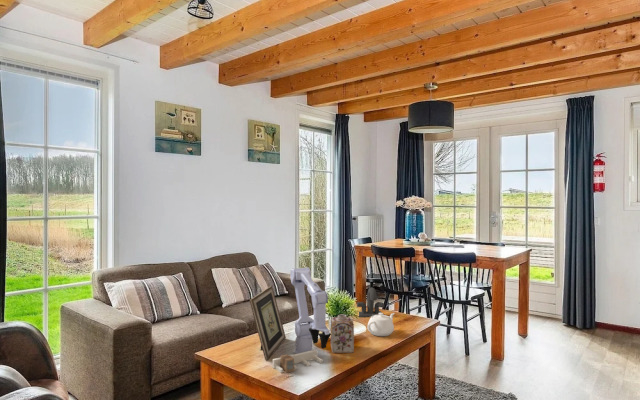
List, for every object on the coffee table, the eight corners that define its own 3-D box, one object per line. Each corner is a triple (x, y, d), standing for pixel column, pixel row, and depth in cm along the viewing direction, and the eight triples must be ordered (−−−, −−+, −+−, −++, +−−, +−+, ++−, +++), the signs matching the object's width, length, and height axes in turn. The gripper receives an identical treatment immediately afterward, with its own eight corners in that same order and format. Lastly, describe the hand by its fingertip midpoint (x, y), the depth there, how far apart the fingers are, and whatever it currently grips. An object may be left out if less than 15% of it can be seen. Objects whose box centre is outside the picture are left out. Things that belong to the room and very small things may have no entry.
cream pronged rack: (272, 367, 202) (272, 357, 202) (315, 357, 214) (315, 348, 214) (279, 373, 195) (279, 363, 195) (323, 362, 208) (323, 353, 208)
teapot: (378, 341, 238) (379, 320, 238) (357, 334, 250) (358, 313, 249) (404, 331, 256) (404, 311, 256) (383, 325, 267) (384, 306, 267)
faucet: (360, 320, 278) (360, 290, 277) (356, 313, 293) (356, 285, 293) (387, 320, 279) (387, 289, 279) (381, 313, 295) (382, 284, 295)
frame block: (280, 368, 201) (280, 355, 201) (288, 366, 203) (288, 354, 203) (286, 373, 196) (286, 360, 196) (293, 371, 198) (294, 358, 198)
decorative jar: (351, 345, 232) (352, 312, 232) (354, 353, 221) (354, 318, 221) (330, 345, 232) (330, 312, 232) (331, 353, 220) (331, 318, 220)
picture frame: (267, 360, 210) (267, 300, 210) (248, 359, 212) (248, 299, 212) (286, 338, 242) (286, 286, 242) (269, 337, 244) (269, 285, 244)
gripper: (304, 314, 208) (304, 342, 208) (320, 322, 195) (320, 351, 195) (317, 312, 211) (317, 339, 211) (333, 320, 199) (333, 348, 199)
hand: (319, 345), depth 204 cm, fingers open, 7 cm apart
